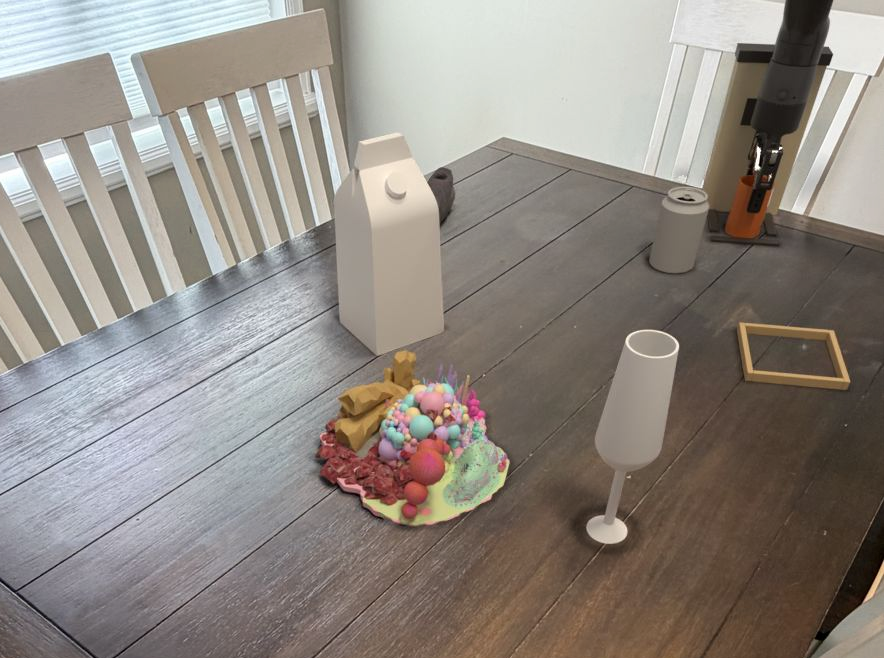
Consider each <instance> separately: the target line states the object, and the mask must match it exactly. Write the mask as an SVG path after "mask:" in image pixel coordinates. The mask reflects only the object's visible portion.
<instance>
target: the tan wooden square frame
mask: <svg viewBox="0 0 884 658" xmlns="http://www.w3.org/2000/svg"><path fill="white" fill-rule="evenodd" d="M736 334H737V341H738V347H739V353H740V359H741V365H742V371H743V377H744V381H745V382H746V381H747V382H755V383H767V384H777V385H785V386H786V385H787V386H797V387H809V388H820V389H831V390H842V391H847V390H848V388H849V386H850V384H851V379H850V376H849V373H848V370H847V367H846V364H845V361H844V358H843V355H842V351H841V348H840V344H839V341H838V339H837V335H836V333H835V330H834V329H822V328H810V327H799V326H787V325H776V324H762V323H750V322H740V321H739V322H738V324H737V328H736ZM748 335H758V336H769V337H779V338H782V337H784V338H793V339H805V340H816V341H825V343H826V346H827V349H828V353H829V356H830V359H831V362H832V365H833V369H834V372H835V375H836V377H833V376H832V377H831V376H820V375H812V374H811V375H810V374H801V373H799V374H798V373H788V372H779V371H778V372H777V371H766V370H755V369H754V367H753V362H752V357H751V352H750V345H749V339H748Z"/></svg>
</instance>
